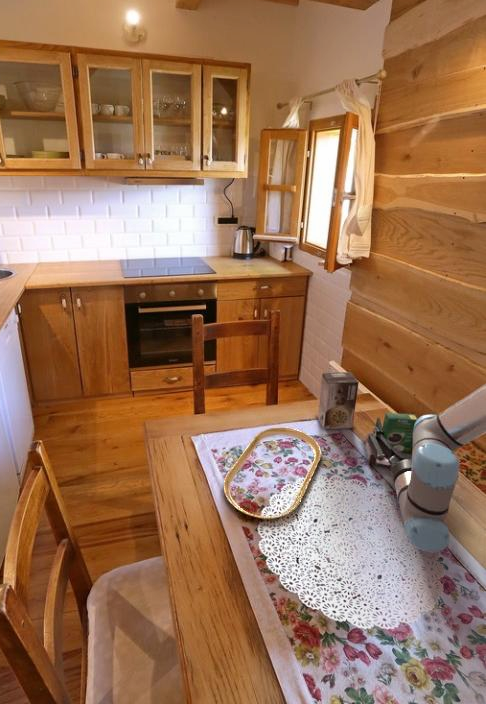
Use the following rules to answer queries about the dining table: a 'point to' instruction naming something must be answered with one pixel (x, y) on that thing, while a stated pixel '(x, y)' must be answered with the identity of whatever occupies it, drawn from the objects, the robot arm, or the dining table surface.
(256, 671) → the dining table surface
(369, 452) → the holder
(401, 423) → the coffee box
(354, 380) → the coffee box
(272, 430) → the oval frame
